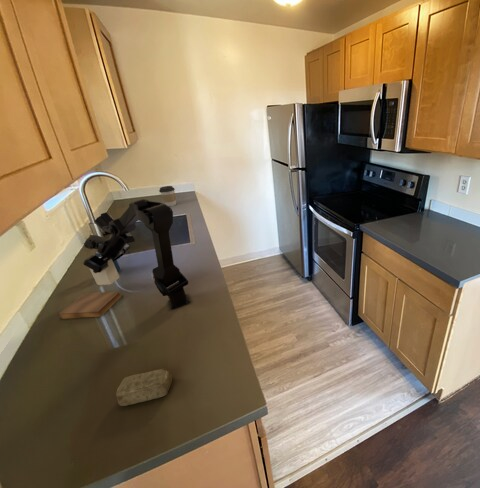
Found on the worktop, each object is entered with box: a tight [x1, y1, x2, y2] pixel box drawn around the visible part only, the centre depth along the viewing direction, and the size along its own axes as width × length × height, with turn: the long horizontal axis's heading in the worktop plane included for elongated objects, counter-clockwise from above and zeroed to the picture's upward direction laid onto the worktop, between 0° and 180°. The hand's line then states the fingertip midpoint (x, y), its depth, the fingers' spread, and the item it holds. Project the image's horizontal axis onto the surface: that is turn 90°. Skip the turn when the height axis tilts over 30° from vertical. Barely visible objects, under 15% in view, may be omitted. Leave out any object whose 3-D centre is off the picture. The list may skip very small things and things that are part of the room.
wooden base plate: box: [58, 291, 122, 320], centre depth 105 cm, size 14×12×2 cm
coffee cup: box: [158, 185, 177, 207], centre depth 225 cm, size 11×11×15 cm
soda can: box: [94, 249, 121, 274], centre depth 127 cm, size 7×7×12 cm
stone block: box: [115, 367, 173, 407], centre depth 70 cm, size 6×12×5 cm, turn 106°
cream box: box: [89, 257, 120, 286], centre depth 112 cm, size 6×6×10 cm
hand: (99, 268), depth 112 cm, fingers closed on cream box, 5 cm apart
